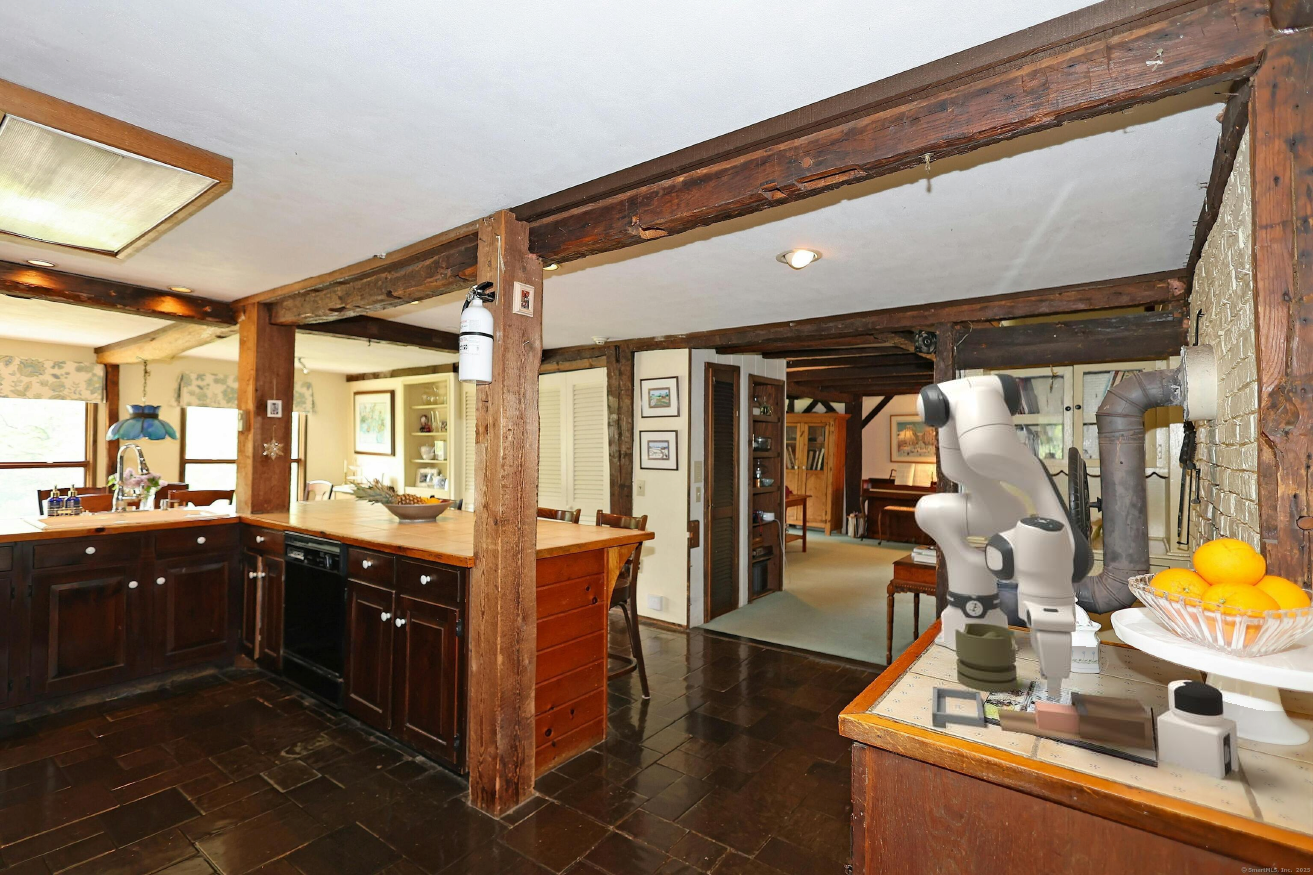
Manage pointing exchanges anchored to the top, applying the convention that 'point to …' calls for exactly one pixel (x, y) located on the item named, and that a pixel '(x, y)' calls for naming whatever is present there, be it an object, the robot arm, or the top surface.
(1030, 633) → the robot arm
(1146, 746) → the brown slab
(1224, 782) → the top surface
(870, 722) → the top surface
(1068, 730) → the salmon pink rectangular prism
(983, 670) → the piston
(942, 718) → the tray
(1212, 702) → the container
